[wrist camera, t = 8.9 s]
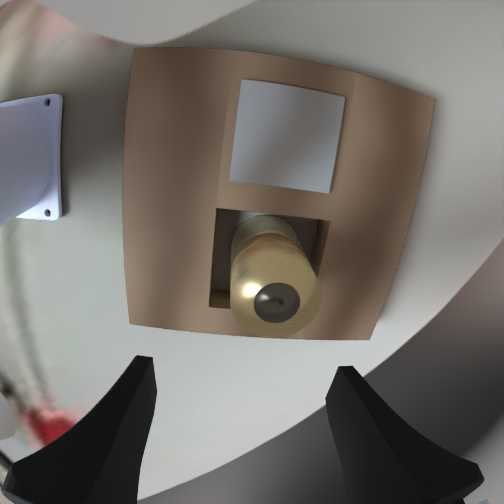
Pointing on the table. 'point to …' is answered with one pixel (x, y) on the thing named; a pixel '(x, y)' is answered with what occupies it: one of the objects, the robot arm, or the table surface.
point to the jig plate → (265, 180)
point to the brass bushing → (271, 279)
